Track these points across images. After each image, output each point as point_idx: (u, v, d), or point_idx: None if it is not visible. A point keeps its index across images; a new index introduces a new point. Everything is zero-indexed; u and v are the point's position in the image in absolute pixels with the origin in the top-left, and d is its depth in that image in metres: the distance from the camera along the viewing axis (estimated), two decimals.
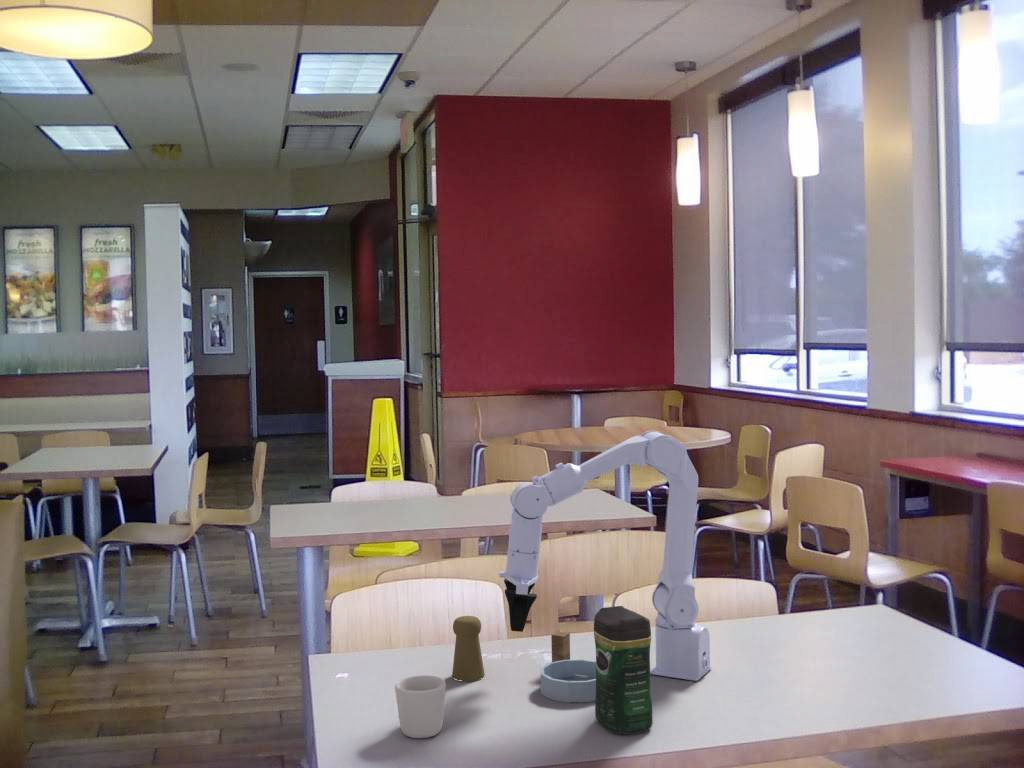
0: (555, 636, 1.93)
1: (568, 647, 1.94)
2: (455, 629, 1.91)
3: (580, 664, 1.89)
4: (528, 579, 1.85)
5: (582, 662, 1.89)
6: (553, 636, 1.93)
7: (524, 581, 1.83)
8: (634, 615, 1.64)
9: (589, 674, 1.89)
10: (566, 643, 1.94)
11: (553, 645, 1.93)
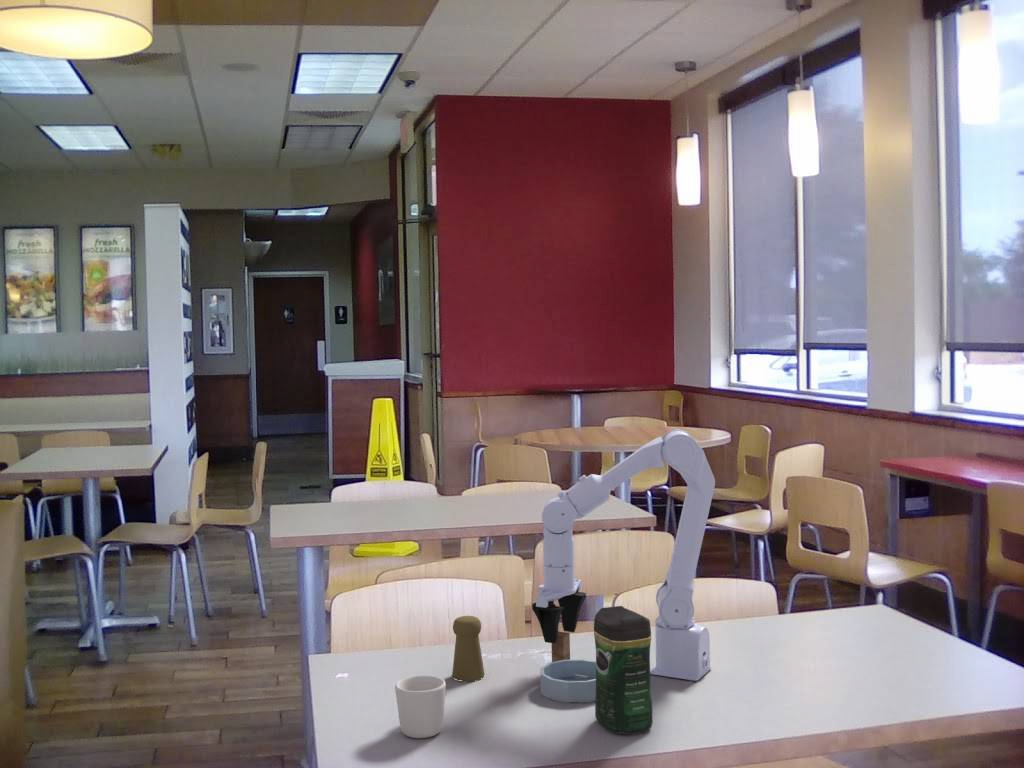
0: None
1: (568, 647, 1.94)
2: (455, 629, 1.91)
3: (580, 664, 1.89)
4: (558, 592, 1.91)
5: (582, 662, 1.89)
6: None
7: (549, 594, 1.89)
8: (634, 615, 1.64)
9: (589, 674, 1.89)
10: (566, 643, 1.94)
11: (553, 645, 1.93)
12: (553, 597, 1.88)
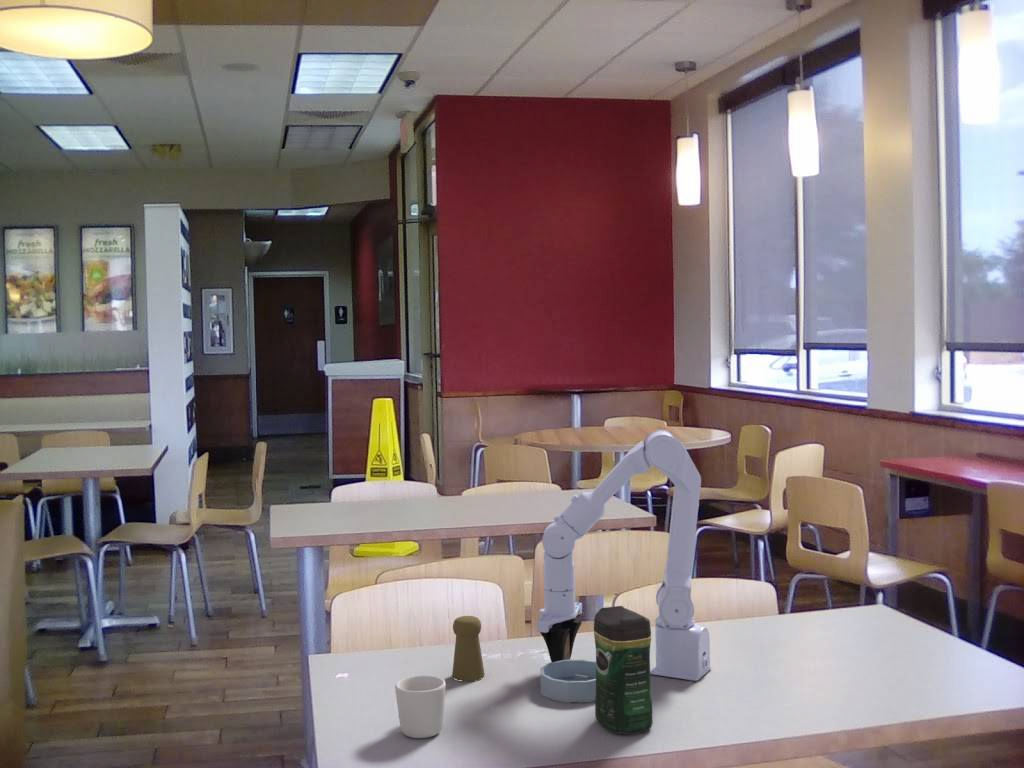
0: None
1: (568, 647, 1.94)
2: (455, 629, 1.91)
3: (580, 664, 1.89)
4: (558, 617, 1.91)
5: (582, 662, 1.89)
6: None
7: (549, 619, 1.89)
8: (634, 615, 1.64)
9: (589, 674, 1.89)
10: (566, 643, 1.94)
11: None
12: (554, 622, 1.89)
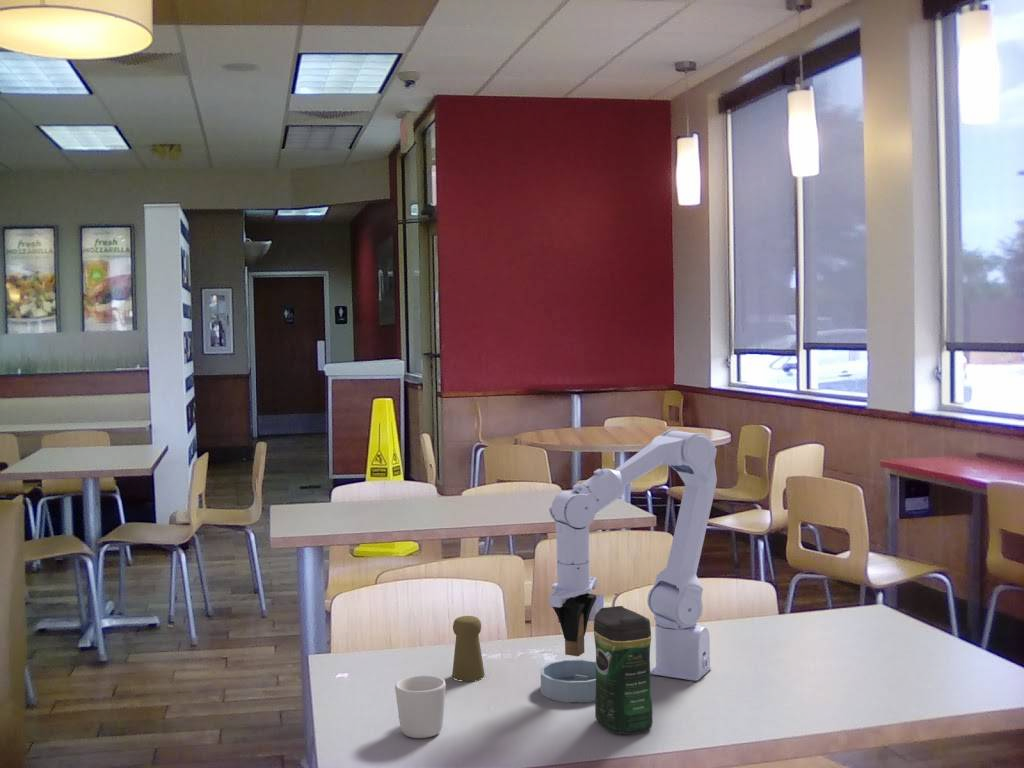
0: None
1: (582, 628, 1.83)
2: (455, 629, 1.91)
3: (580, 664, 1.89)
4: (572, 591, 1.80)
5: (582, 662, 1.89)
6: None
7: (563, 593, 1.79)
8: (634, 615, 1.64)
9: (589, 674, 1.89)
10: (580, 624, 1.83)
11: None
12: (568, 596, 1.78)
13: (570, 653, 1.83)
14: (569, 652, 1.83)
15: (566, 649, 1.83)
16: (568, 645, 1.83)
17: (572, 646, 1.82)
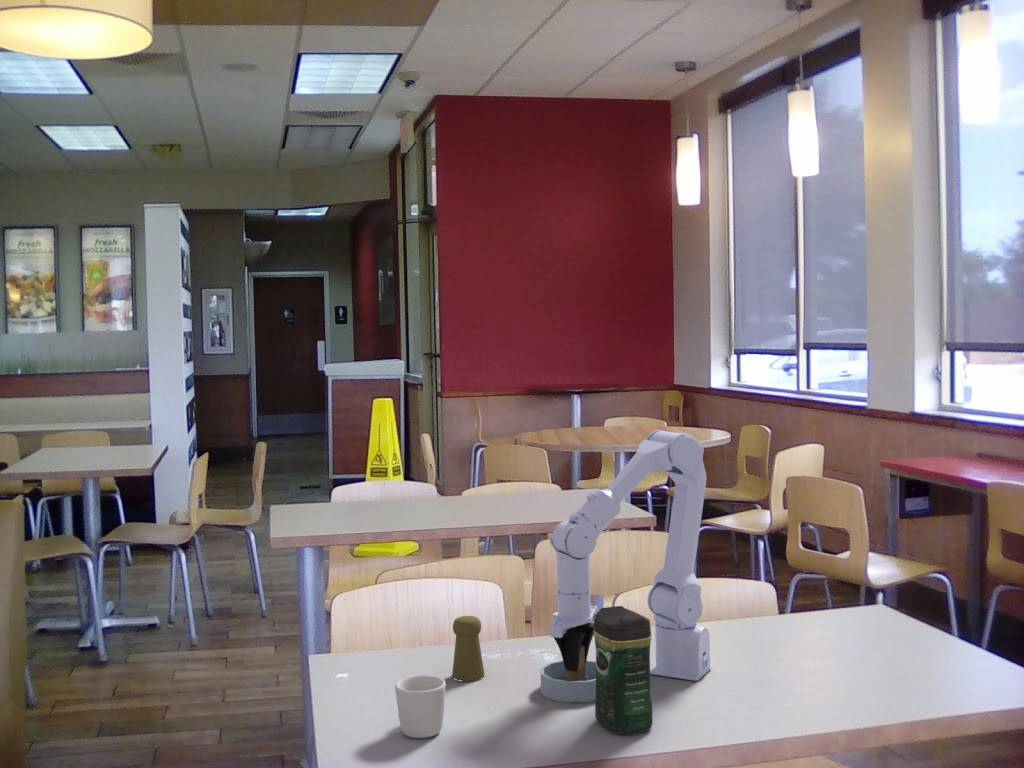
0: None
1: (583, 660, 1.84)
2: (455, 629, 1.91)
3: None
4: (573, 621, 1.80)
5: None
6: None
7: (564, 623, 1.79)
8: (634, 615, 1.64)
9: (589, 674, 1.89)
10: (581, 657, 1.83)
11: None
12: (568, 627, 1.78)
13: None
14: None
15: None
16: (569, 677, 1.83)
17: (573, 679, 1.83)
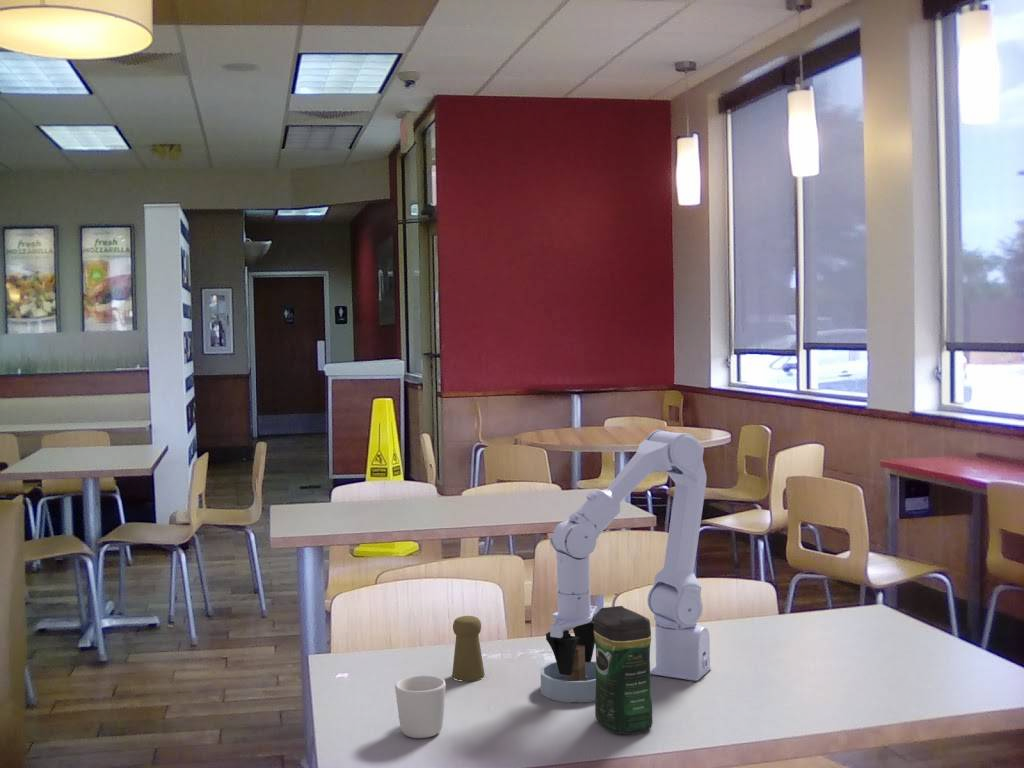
0: None
1: (583, 661, 1.84)
2: (455, 629, 1.91)
3: None
4: (573, 621, 1.80)
5: None
6: None
7: (564, 623, 1.79)
8: (634, 615, 1.64)
9: (589, 674, 1.89)
10: (581, 657, 1.83)
11: None
12: (568, 627, 1.78)
13: None
14: None
15: None
16: (569, 678, 1.83)
17: (573, 679, 1.83)
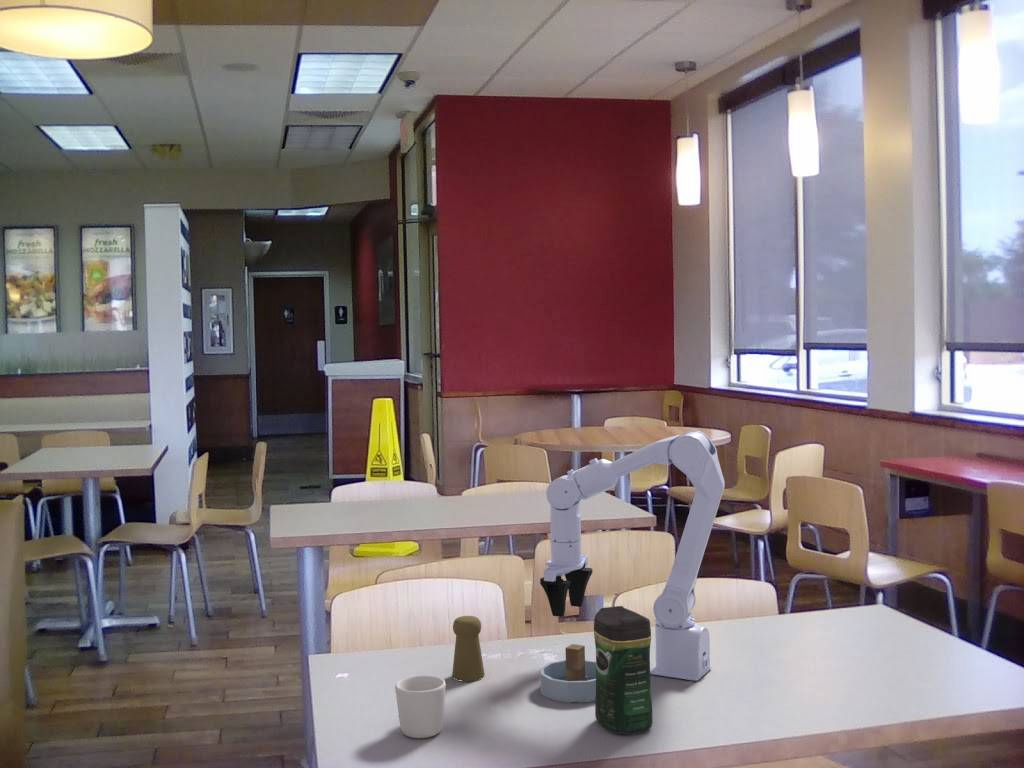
0: (569, 649, 1.83)
1: (583, 661, 1.84)
2: (455, 629, 1.91)
3: None
4: (565, 567, 1.95)
5: None
6: (567, 649, 1.83)
7: (556, 569, 1.94)
8: (634, 615, 1.64)
9: (589, 674, 1.89)
10: (581, 657, 1.83)
11: (567, 659, 1.83)
12: (561, 571, 1.93)
13: None
14: None
15: None
16: (569, 678, 1.83)
17: (573, 679, 1.83)
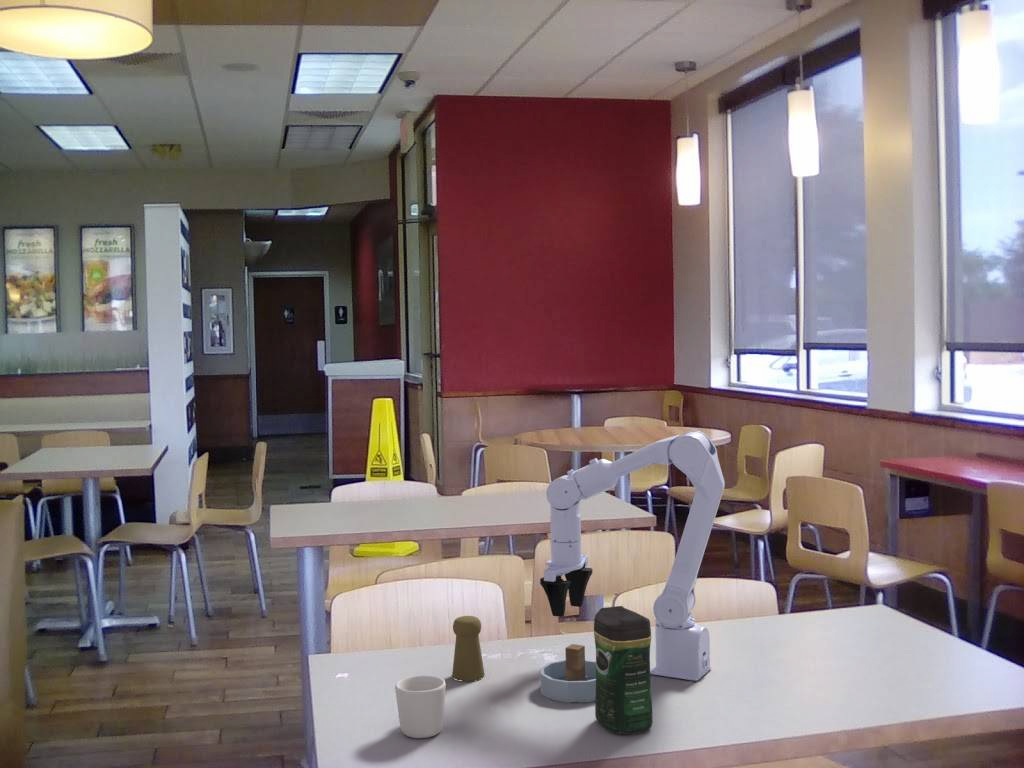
0: (569, 649, 1.83)
1: (583, 661, 1.84)
2: (455, 629, 1.91)
3: None
4: (565, 567, 1.95)
5: None
6: (567, 649, 1.83)
7: (556, 569, 1.94)
8: (634, 615, 1.64)
9: (589, 674, 1.89)
10: (581, 657, 1.83)
11: (567, 659, 1.83)
12: (561, 571, 1.93)
13: None
14: None
15: None
16: (569, 678, 1.83)
17: (573, 679, 1.83)
